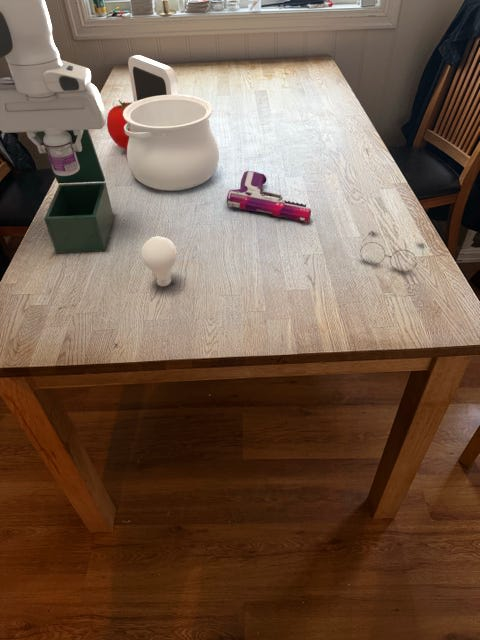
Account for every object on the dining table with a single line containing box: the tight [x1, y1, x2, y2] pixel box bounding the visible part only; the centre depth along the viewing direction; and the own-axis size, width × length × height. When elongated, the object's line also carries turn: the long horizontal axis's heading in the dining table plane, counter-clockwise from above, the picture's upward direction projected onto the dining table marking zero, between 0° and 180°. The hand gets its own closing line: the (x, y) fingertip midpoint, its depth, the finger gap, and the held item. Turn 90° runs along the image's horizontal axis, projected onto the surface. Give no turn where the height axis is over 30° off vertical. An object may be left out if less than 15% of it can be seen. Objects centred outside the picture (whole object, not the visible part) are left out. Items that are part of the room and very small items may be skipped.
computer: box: [127, 54, 180, 103], centre depth 132 cm, size 22×22×3 cm
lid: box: [36, 130, 106, 185], centre depth 97 cm, size 15×11×5 cm
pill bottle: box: [43, 127, 80, 176], centre depth 90 cm, size 5×5×10 cm
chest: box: [43, 181, 114, 254], centre depth 101 cm, size 15×11×9 cm
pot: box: [123, 94, 220, 192], centre depth 118 cm, size 26×24×17 cm
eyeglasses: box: [359, 230, 425, 273], centre depth 95 cm, size 11×13×5 cm
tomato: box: [106, 99, 134, 151], centre depth 131 cm, size 12×12×13 cm
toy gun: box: [226, 170, 312, 223], centre depth 111 cm, size 4×22×15 cm
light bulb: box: [141, 235, 178, 288], centre depth 87 cm, size 7×7×11 cm
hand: (61, 151), depth 90 cm, fingers closed on pill bottle, 5 cm apart
